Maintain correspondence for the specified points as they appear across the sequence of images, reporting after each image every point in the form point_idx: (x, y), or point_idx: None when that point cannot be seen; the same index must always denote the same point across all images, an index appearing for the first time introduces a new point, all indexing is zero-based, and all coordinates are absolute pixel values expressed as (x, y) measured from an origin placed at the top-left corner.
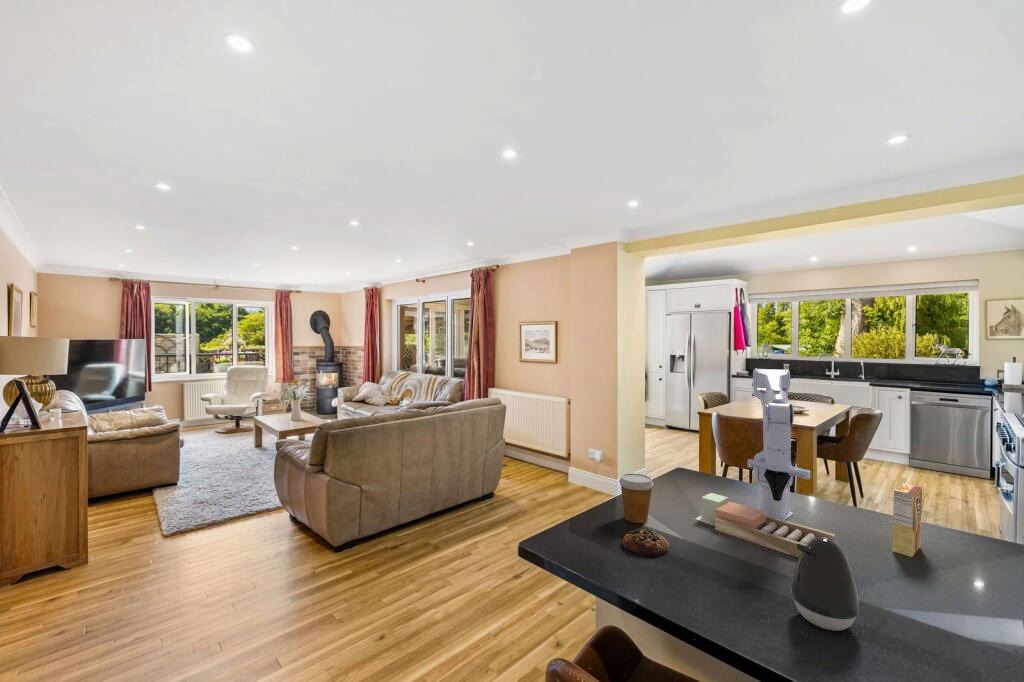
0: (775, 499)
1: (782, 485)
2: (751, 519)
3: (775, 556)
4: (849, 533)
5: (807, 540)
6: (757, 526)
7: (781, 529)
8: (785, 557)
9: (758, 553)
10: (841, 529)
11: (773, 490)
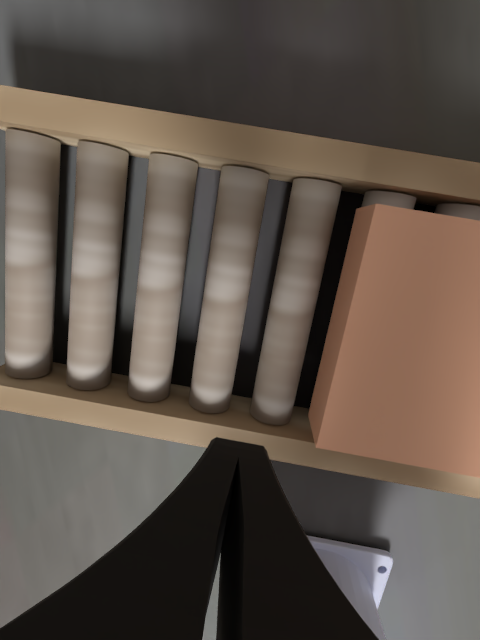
0: (242, 444)
1: (76, 578)
2: (391, 207)
3: (206, 46)
4: (14, 564)
5: (75, 262)
6: (341, 278)
7: (216, 332)
8: (163, 74)
9: (289, 16)
10: (46, 588)
11: (259, 507)
